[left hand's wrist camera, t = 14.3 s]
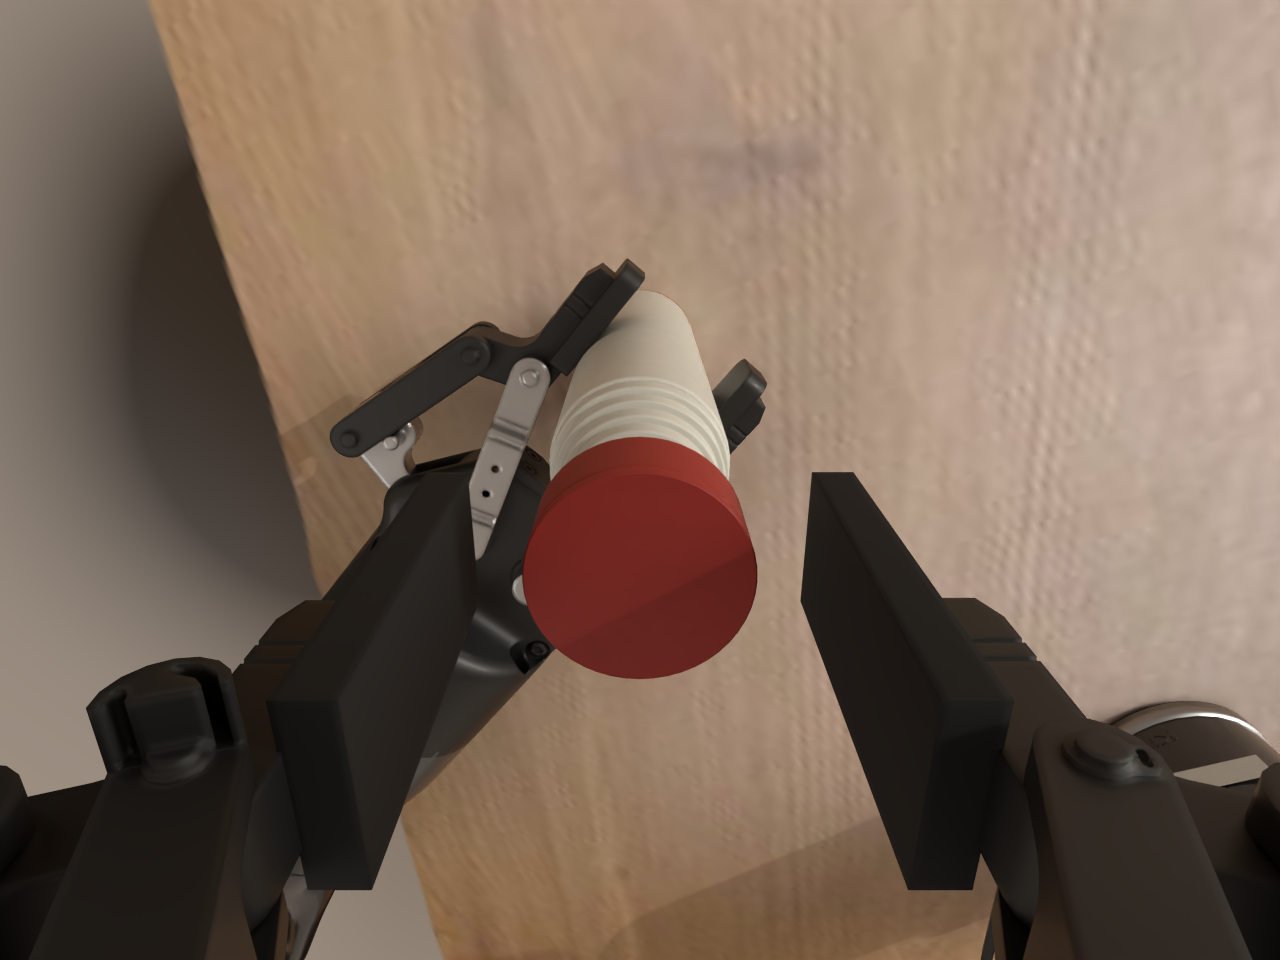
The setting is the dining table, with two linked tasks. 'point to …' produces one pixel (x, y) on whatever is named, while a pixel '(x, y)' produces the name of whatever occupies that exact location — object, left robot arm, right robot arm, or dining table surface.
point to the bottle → (641, 387)
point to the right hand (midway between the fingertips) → (694, 322)
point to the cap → (639, 559)
